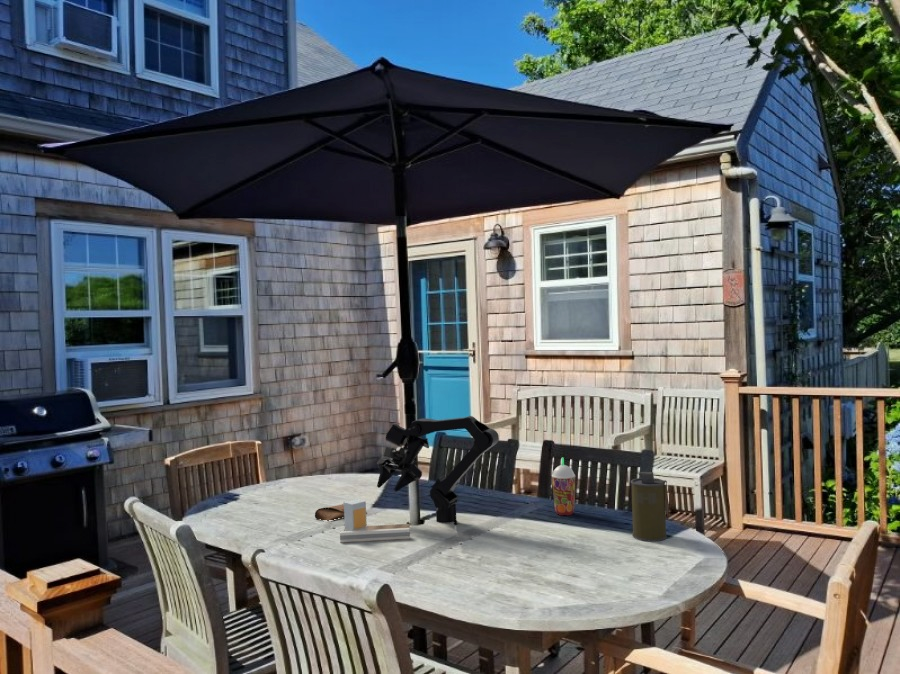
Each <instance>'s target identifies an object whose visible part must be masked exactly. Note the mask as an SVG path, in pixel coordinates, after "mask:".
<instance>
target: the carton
mask: <svg viewBox="0 0 900 674" xmlns="http://www.w3.org/2000/svg"><path fill="white" fill-rule="evenodd" d="M366 502H367V501H366V500H362V499H359V498H357V499H352V500H348V501H344V502H343V504H344V518H343V519H344V529H345V531H360V530H367V526H368V525H367V504H366Z"/></svg>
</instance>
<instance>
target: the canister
mask: <svg viewBox="0 0 900 674" xmlns="http://www.w3.org/2000/svg"><path fill="white" fill-rule="evenodd" d="M638 475H639V476H640V477H639V478H638V477H637V478H633V479H631V480H630V483H631V508H632V509H631V511H632V537H633V538H634V539H635V540H638V541H644V542H660V541H664V540H666V539H667V537H668V535H667V525H666V523H667V522H666V519H667V518H668V516H669V510H668V509H669V506H668V499H666V492H668V481H667V479H666V480H665V479H660V478H655V476H654V472H653V471H648V472H647V471H640V472H639V473H638ZM665 484H666V485H665ZM665 486H666V487H665ZM665 489H666V490H665ZM665 491H666V492H665ZM666 514H667V515H666ZM666 517H667V518H666Z"/></svg>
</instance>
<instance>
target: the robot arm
mask: <svg viewBox="0 0 900 674" xmlns="http://www.w3.org/2000/svg"><path fill="white" fill-rule="evenodd" d="M454 430H455V431H456V430H466V431H467V433H469V435H470V436H471V438H473V439H474V441H473V444H472V445H471V448H470V449H469V450H468V452H467V453H466V454H465V455H464V456H463V457H462V458H461V460H460V461H459V462H458V463H457V465H456V466H455V467H454V468H453V469H452V470H451V472H449V474H448V475H445V474H444V475H442V476H440V477H438V478H437V479H436V480H435V482H434V484H432V485H431V486H430V488H431V489H430V490H429V496H430V499H431V500H432V501H433V504H434V507H435V508H436V509H435V520H436V523H446V524H447V523H453V525H454V526H455V525H458V522H457V506H456V505H457V504H456V503H458V501H459V496H458V495H457V494H456V492H454V490H455V489H456V486H457V484H458V482H459V481H460V480H461V479H462V478H463V477H464V475H466V474H467V472H468V471H470V470H469V469H471V468H472V466H473V465H474V464H475V463H476V462H477V460H479V458H480V457H481V456H482V455H484V454H485V453H486V452H487V451H489V450H490V449H492V447H494V446H495V445H497V444H498V443H499V440H500V438H499V437H500V436H499V433H498V432H497V430H495V429H493V428H490V427H489V426H487V425H486V424H485V423H483V422H482V421H479V420H478V419H477V418H476V417H474V416H473V415H469V416H465V417H456V418H455V417H454V418H446V419H433V418H424V417H423V418H419V419H416V420H414V421H412V422H411V423H410V425H409V427H408V428H404V427H402V426H401V425H398V424H397V423H395V424H392V426H391V428H389V430H388V432H387V433H386V435H385V441H386V442H388V443H390V444H392V445H394V446H396V448H394V447H389V446H386V447H385V449H384V452H383V455H382V456H383V457H381V458H379V459H378V460H377V462H376V465H377V467H378V468H379V476H378V479H377V484H376V487H377V488H379V489H380V488H381V487H382V486H383V485H384V484H385V483H386V482H387V481H388V480H390V478H392V477H393V474H394V473H395V472H396V471H399V472H400V473H401V474H400V476H399V478H398V480H397V483H396V484H395V486H394V488H393V490H394V492H395V493H396V492H398V491H401V489H403V488H405V487H406V486H408V485H409V484H411V483H413V482H416V481H420V479H421V478H422V476H423V471H422V470H421V469H420V468H419V467H418V466H417V465H416V464H415V463H417V462H416V459H417V457H416V455H417V456H418V455H419V454H420V452H421V450H422V449H423V447H424V448H426V449H430V445H429V440H428V438H427V437H425V438H422V436H426V435H429V434H433V433H435V432H436V433H437V432H444V431H445V432H447V431H454ZM407 439H408V441H407ZM407 442H408V444H407ZM407 446H408V448H407ZM385 457H387V458H385ZM388 458H389V459H388ZM414 461H415V462H414Z"/></svg>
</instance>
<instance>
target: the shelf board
mask: <svg viewBox="0 0 900 674" xmlns="http://www.w3.org/2000/svg"><path fill="white" fill-rule="evenodd" d="M397 528H411V526H410V523H401V524H398V523H397V524H382V525H379V524H378V525H367V530H378V529H397ZM343 531H345V528H344V529H343ZM404 540H405V541H406V540H408V539H392V540H391V541H404ZM385 541H386V542H387V541H388V542H389V541H390V540H373V541H355V542H339V543H340V544H349V543H367V542H368V543H371V542H385Z"/></svg>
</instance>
